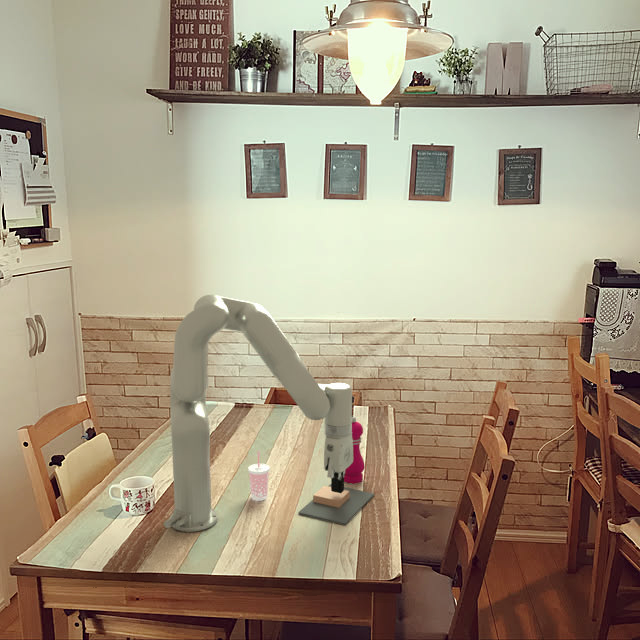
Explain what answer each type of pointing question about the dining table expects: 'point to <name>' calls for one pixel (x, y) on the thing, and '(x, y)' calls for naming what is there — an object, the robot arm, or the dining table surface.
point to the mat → (335, 513)
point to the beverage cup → (258, 480)
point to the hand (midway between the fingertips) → (337, 491)
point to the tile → (331, 497)
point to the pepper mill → (355, 456)
